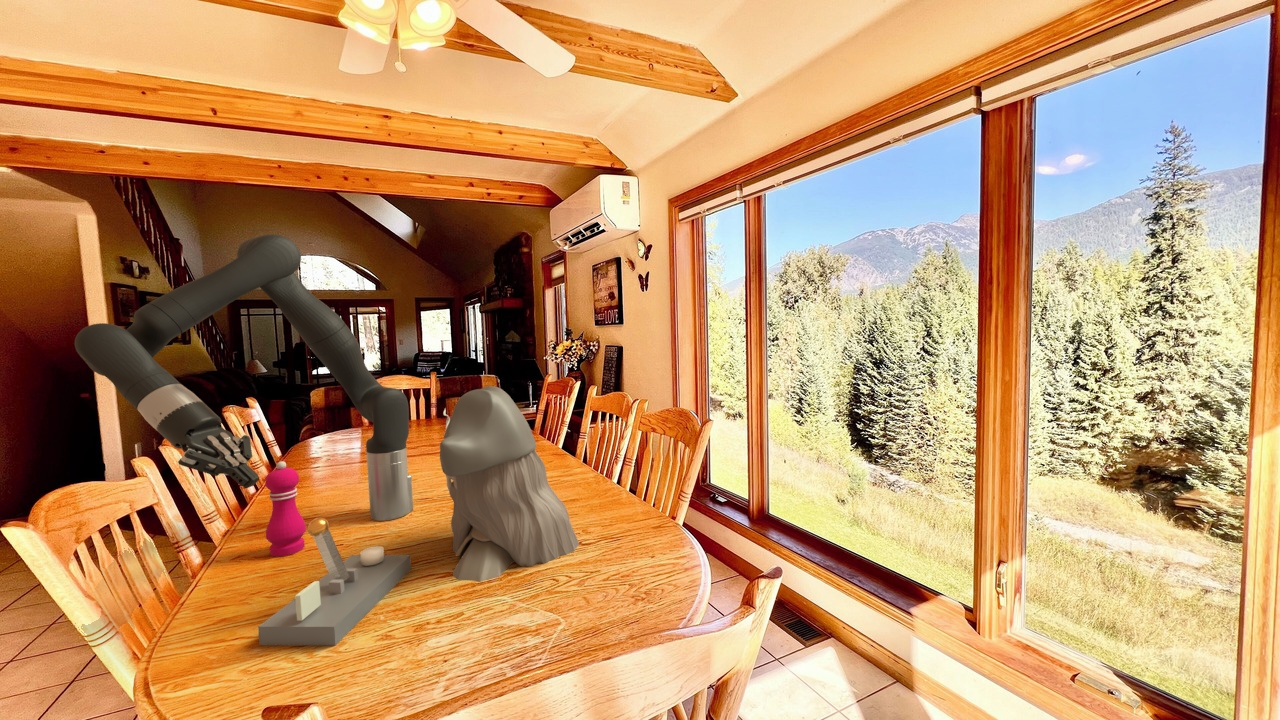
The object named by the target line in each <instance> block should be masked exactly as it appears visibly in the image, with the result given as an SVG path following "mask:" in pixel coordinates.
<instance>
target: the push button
mask: <svg viewBox="0 0 1280 720" xmlns="http://www.w3.org/2000/svg"><path fill="white" fill-rule="evenodd" d="M384 551H385V549H384V547H383V546H381V545H380V546H379V545H375V546H370V547H366V548H364V549H363V550H361V551H360V554H359V555H360V556H361V564H362V565H365V566H369V565H375V564H378V563H380V562H382V561H383V560H384V555H385V553H384Z"/></svg>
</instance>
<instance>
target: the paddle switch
mask: <svg viewBox="0 0 1280 720" xmlns="http://www.w3.org/2000/svg"><path fill="white" fill-rule="evenodd" d="M294 599H295V600H296V614H297V621H302V620H303V619H304V618H306V617H307V616H308V615H309V614H310V613H312V612H313V611H314V610H315V609H316V608H318V607H319V606H320V605H321V600H320V586H319V580H314V581H312V583H310V584H309V585H308V586H306V587H305V588H303V589H302V590H301V591H300V592H298V593H296V594H295V598H294Z"/></svg>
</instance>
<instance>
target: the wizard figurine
mask: <svg viewBox="0 0 1280 720" xmlns="http://www.w3.org/2000/svg"><path fill="white" fill-rule="evenodd" d="M446 412H447V411H446V407H445V408H444V410H443V413H442V414H443V416H444V417H446V421H445V431H444V434H443V439H442V440H441V441H440V444H439V460H440V461H439V462H440V465H441V469H442V472H443V474H445V478H446V486H447V489H448V492H449V496H450V498H451V499H452V502H453V508H452V509H453V511H452V516H451V520H450V526H451V530H452V544H453V545H452V551H453V552H454V553H455V556H456V557H461V558H460V559H459V561H458V562H457V564H456V565H455V568H454V569H453V571H452V576H453V577H454V578H455V579H456V580H457V581H471V582H477V583H482V582H484V581H487V580H488V581H489V580H491V579H496V578H499V577H501V576H502V574H503V573H504V572H505V571H506V570H507V569H508V568H509V567H510V566H511V565H512V564H513V563H515V564H516V565H519V566H520V567H533V566H535V565H537V564H548V563H549V562H551V561H554V560H556V559H558V558H560V557H563V556H568V555H569V554H571V553H573V552H575V551H576V549H577V548H578V547H579V546H580V542H579V539H578V538H577V535H576V533H575V530H574V528H573V525H572V523H571V520H570V516H569V512H568V510H567V507H566V505H565V503H564V502H563V500H561V499H560V498H559V497H558V495H557V494H556V493H555V491H554V490H553V489H552V487H551V486H550V484H549V483H550V482H549V481H548V475H547V469H546V466H545V463H544V460H543V459H542V458H541V457H540V455H539V454H538V452H537V451H536V449H537V443H536V439H535V437H534V436H535V435H534V434H533V431H532V429H531V427H530V424H529V423H528V421H527V419H526V417H525V415H524V414H523V413H522V412H521V409H519V407H518V406H517V404H516V402H514V399H512V398H511V396H510V395H509V394H508V393H507V392H506V391H504V389H502V388H500V387H498V386H493V385H489V386H484V387H482V388H477V389H472V390H470V391H468V392H466V393H464V394H462V396H461V397H459V399H458V401H456V403H455V405H454V409H453V412H452V414H451V417H450V416H449V415H448V414H446Z"/></svg>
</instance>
